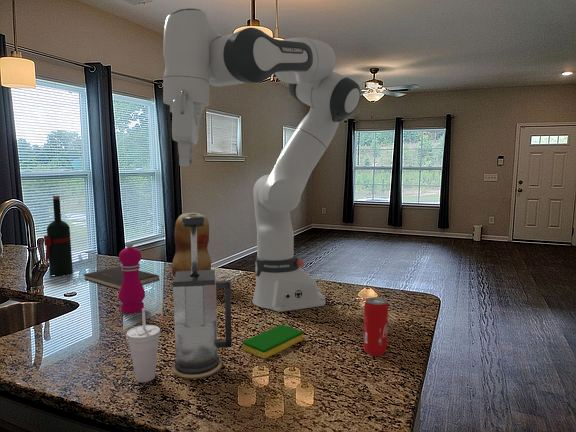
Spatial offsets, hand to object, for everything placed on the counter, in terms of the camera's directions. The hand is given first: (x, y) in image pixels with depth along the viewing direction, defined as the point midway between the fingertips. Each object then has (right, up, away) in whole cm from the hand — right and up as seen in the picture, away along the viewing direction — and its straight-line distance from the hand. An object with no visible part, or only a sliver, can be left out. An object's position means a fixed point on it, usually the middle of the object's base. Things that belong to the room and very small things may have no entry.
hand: (186, 166), depth 84 cm
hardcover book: (-41, -34, +69) cm, 87 cm away
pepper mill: (-24, -38, +37) cm, 58 cm away
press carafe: (+2, -42, +3) cm, 42 cm away
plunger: (+2, -24, +1) cm, 25 cm away
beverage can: (+40, -41, +10) cm, 59 cm away
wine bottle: (-67, -33, +75) cm, 106 cm away
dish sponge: (+17, -41, +14) cm, 47 cm away
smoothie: (-8, -43, -1) cm, 43 cm away
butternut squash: (-13, -34, +64) cm, 74 cm away
